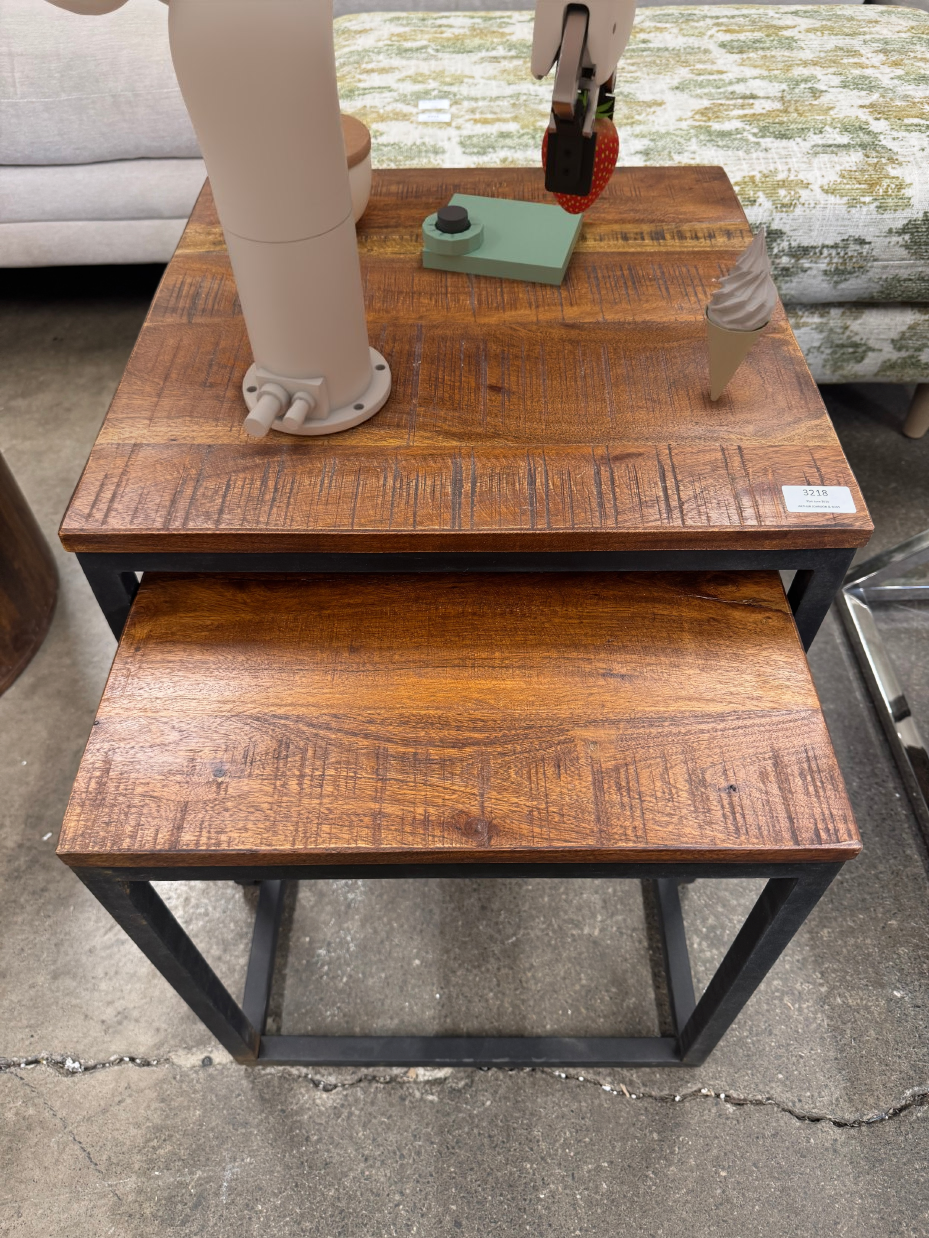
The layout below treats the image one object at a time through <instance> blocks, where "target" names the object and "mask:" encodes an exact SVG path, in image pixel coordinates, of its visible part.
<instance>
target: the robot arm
mask: <svg viewBox="0 0 929 1238" xmlns="http://www.w3.org/2000/svg"><path fill="white" fill-rule="evenodd" d="M44 1H45V2H46V3H48V4H51V5H53V6H55V7H57V8H60V9H61V10H65V11H67V12H70V13H73V14H75V15H80V16H95V17H97V16H103V15H107V14H110V13H112V12H115V11H118V10H119V9H120V8H121V7H123V6H124V5H125V4H127V3H128V2H129V1H130V0H44ZM158 2H160V3H163V4H164V5H166V6H168V9H167V10H168V12H167V29H168V41H169V50H170V56H171V61H172V65H173V69H174V73H175V76H176V80H177V84H178V87H179V90H180V93H181V97H182V99H183V101H184V106H185V107H186V110H187V113H188V116H189V119H190V122H191V124H192V128H193V129H194V133H195V135H196V139H197V142H198V145H199V148H200V149H199V150H200V152H201V156H202V159H203V163H204V167H205V170H206V173H207V177H208V180H209V181H208V182H209V184H210V189H211V192H212V193H211V194H212V196H213V201H214V205H215V208H216V209H215V210H216V214H217V217H218V221H219V223H220V225H221V231H222V234H223V237H224V242H225V246H226V250H227V254H228V258H229V262H230V267H231V270H232V274H233V278H234V283H235V287H236V290H237V295H238V298H239V303H240V308H241V311H242V316H243V319H244V323H245V328H246V331H247V336H248V341H249V344H250V348H251V352H252V356H253V360H254V362H253V363H251V365H250V367H248V369H247V370H246V372H245V375H244V377H243V379H242V389H241V390H242V394H243V398H244V399H243V400H244V403H245V405H246V408H247V410H248V411H249V413H248V414H247V416H246V418H245V419H244V420H243V423H242V426H243V429H244V430H245V432H246V433H247V434H248V435H250V436H251V437H252V438H256V439H263V438H265V437H266V435H267V434H268V433H269V431H270V430H271V429H273V430H276V431H278V432H283V433H284V434H285V433H286V434H291V435H298V436H320V435H327V434H334V433H337V432H342V431H345V430H348V429H350V428H353V427H356V426H358V425H360V424H362V423H363V422H365V421H368V419H370V418H371V417H373V416H374V415H375V414H376V413H378V412H379V411H380V410H381V408H382V407H383V406H384V405H385V404H386V402H387V401H388V399H389V396H390V395H391V390H392V385H393V384H392V374H391V373H392V372H391V368H390V364H389V363H388V362H387V360H386V359H385V356H383V354H381V353H380V352H379V351H378V350H377V349H375V348H373V347H372V346H370V339H369V333H368V324H367V315H366V307H365V298H364V289H363V282H362V281H363V280H362V272H361V265H360V256H359V247H358V238H357V230H356V229H357V228H356V224H355V220H354V212H353V204H352V199H351V190H350V182H349V173H348V166H347V158H346V150H345V142H344V134H343V127H342V119H341V114H342V113H341V104H340V97H339V88H338V77H337V66H336V65H337V64H336V54H335V43H334V38H335V37H334V0H158ZM637 4H638V0H535V9H534V20H533V30H532V32H533V33H532V44H531V56H530V73H531V74H532V76H533V78H534V79H535V80H537V81H541V80H543V79H544V78H545V77H547V76H548V75H549V74H550V72H551V70H552V68H553V67H554V66H555V65H556V66H555V72H554V73H555V74H554V81H553V89H552V95H551V105H550V114H549V122H548V125H549V129H548V141H547V156H546V171H545V174H544V189H545V190H546V191H547V192H549V193H553V192H554V193H561V194H568V195H575V196H582V197H586V196H588V195H589V193H590V191H591V188H592V180H593V171H594V162H595V153H596V143H597V134H598V132H593V128H594V121H595V115H596V108H597V107H599V106H602V105H604V104H607V103H609V102H611V101H613V102H612V103H611V105H610V106H609V107H608V108H607V109H606V110H604V111H602V112H598V113H600V114H607V113H611V112H614V111H615V105H616V97H617V96H615V95H614V94H615V90H616V86H617V85H616V84H617V75H618V63H619V62H620V60H621V57H622V55H623V54H624V52H625V50H626V48H627V46H628V43H629V41H630V38H631V35H632V32H633V27H634V22H635V18H636V17H635V16H636V11H637ZM585 90H586V92H587V93H586V108H585V105H584V102H583V99H578V93H579V94H581V95H582V96H583V97H584V94H585ZM579 91H580V92H579ZM613 95H614V96H613ZM614 113H615V112H614ZM614 113H612V114H611V115H609V116H607V117H608V118H609V119H610V120H611V121H612V122H613V123H614V115H615V114H614Z"/></svg>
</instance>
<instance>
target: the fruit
mask: <svg viewBox="0 0 929 1238" xmlns="http://www.w3.org/2000/svg"><path fill="white" fill-rule="evenodd" d="M586 93H587V92H586V90H585V94H584V97H583V96H582V95H581V94H579V93H578V99H583V102H584V105H585V108H586ZM612 102H613V101H611V102H609V103H607V104H604V105H602V106H599V107H597V108H596V115H595V121H594V128H593V132H598V134H597V143H596V153H595V162H594V171H593V180H592V188H591V191H590V193H589V195H588V196H586V197H582V196H575V195H568V194H561V193H554V192H552V194H553V197H554V198H555V200H556V201H557V203H558V205H559V206H561V207H562V208H563V209H564V210H565V211H566V212H568V213H570V214H580V213H582V212H585V211H587V210H588V209H589V208H590V207H591V206H592V205H593V204H594V203H595V202H596V201H597V199H598V198H599V197H600V196H601V195H602V193H603V192H604V190H605V188H606V187H607V185H608V183H609V181H610V179H611V178H612V176H613V174H614V171H615V168H616V166H617V162H618V157H619V152H620V137H619V133H618V129H617V127H616V125H615V123H614V121H613V122H612V121H611V120H610V119H609V118H608V117H607V116H609V115H611V114H612V113H615V112H616V110H617V109H614V112H611V113H607V114H600V113H598V112H602V111H604V110H606V109H607V108H608V107H609V106H610V105H611V103H612ZM548 129H549V124H548V125H547V127H546V128H545V131H544V133H543V134H544V135H543V137H542V141H541V151H540V152H541V154H540V156H541V165H542V170H543V173H544V175H545V171H546V156H547V141H548Z"/></svg>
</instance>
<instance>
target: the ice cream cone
mask: <svg viewBox="0 0 929 1238" xmlns="http://www.w3.org/2000/svg"><path fill="white" fill-rule="evenodd" d="M735 259H736V260H737V262H736V263H734V265H733V267H732V268H731V269H730V270H728V271H727V273H728V274H729V275H727V276H724V277H720V278H718V279H717V281H716V282H717V283H718V284H719V285H720V288H719V289H717V290H713V291H712V293H710V297H711V298H712V299H711V300H709V301H708V302H707V304H705V307H704V310H703V313H704V317H705V322H706V338H707V353H708V354H707V355H708V370H709V372H708V373H709V386H710V399H711V401H712V402H717V401H718V400H719V398H720V397H721V395H722V394H723V392H724V391H725V389H726V387H727V386H728V384H729V383H730V381H731V380H732V379H733V377H734V376H735V374H736V373H737V371H738V369H739V368H740V366H741V364H742V363H743V361H744V360H745V359H746V357H747V356H748V354H749V352H750V350H751V349H752V348H753V346H754V345H755V343H756V342H757V340H758V339H759V337H760V335H761V334H762V332H763V331H764V329H765V328H767V327H768V326H769V325H770V323H771V320H772V317H773V313H774V310H775V308H776V305H777V302H778V301H777V300H778V293H779V291H778V287H777V286H776V284H775V282H774V281H773V278H772V277H771V275H770V272H771V266H772V261H771V259H770V256H769V255H768V249H767V241H766V235H765V225H762V227H760V229H759V231H758V232H757V234H756V235H755V236H754V237H753V239H752V240H751V241H750V243H749V244H748V246H747V247H746V248H745V250H743V251H742V252H741V253H740V254H739V255H738V256H736V257H735Z"/></svg>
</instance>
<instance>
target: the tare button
mask: <svg viewBox="0 0 929 1238" xmlns="http://www.w3.org/2000/svg"><path fill="white" fill-rule="evenodd" d="M436 212H437V223H438V231H440V232H442V233H446V234H457V233H463V232H465V231H467V230H468V211H467V210H466V209H465V208H464V207H461V206H456V205H450V206H448V205H444V206H443V207H441V208H439V209H438V210H437V211H436Z"/></svg>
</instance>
